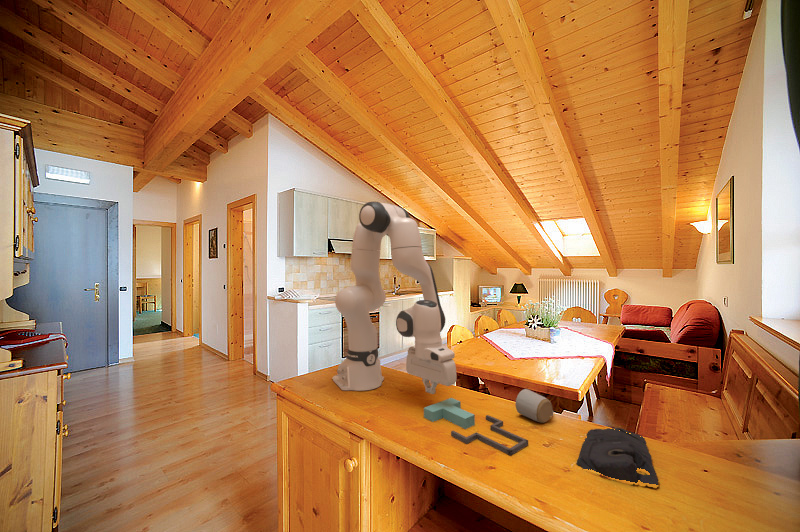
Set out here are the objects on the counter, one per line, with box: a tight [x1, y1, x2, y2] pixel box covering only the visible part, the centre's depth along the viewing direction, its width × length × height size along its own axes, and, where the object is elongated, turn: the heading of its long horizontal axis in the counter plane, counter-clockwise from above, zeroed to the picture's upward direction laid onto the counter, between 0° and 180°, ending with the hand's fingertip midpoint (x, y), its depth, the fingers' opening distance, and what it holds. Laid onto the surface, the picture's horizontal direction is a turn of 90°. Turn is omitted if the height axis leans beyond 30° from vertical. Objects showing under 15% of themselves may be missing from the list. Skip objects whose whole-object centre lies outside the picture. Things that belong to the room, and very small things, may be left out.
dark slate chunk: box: [575, 427, 659, 485], centre depth 80 cm, size 15×22×5 cm
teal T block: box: [423, 397, 476, 430], centre depth 101 cm, size 13×12×3 cm
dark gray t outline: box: [450, 414, 529, 457], centre depth 90 cm, size 16×16×1 cm
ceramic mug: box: [515, 388, 555, 424], centre depth 101 cm, size 11×8×8 cm
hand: (430, 392), depth 110 cm, fingers closed
